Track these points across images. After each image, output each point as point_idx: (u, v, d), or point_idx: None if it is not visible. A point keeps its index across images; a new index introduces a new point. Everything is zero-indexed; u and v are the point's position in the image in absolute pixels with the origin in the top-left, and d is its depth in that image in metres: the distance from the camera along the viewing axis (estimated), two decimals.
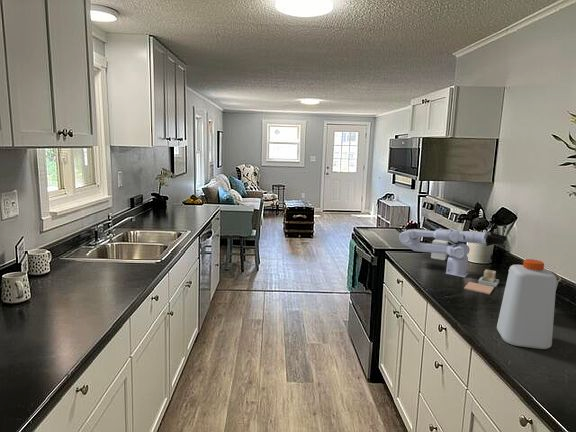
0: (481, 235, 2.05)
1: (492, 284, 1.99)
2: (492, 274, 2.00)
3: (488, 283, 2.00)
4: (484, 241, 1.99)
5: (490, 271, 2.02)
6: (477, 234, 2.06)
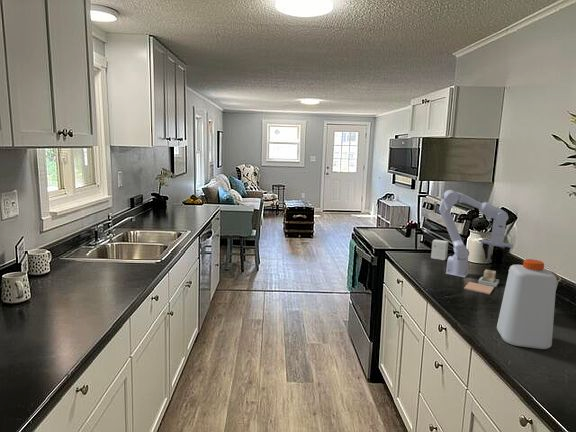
0: None
1: (492, 284, 1.99)
2: (492, 274, 2.00)
3: (488, 283, 2.00)
4: (512, 247, 2.04)
5: (490, 271, 2.02)
6: None
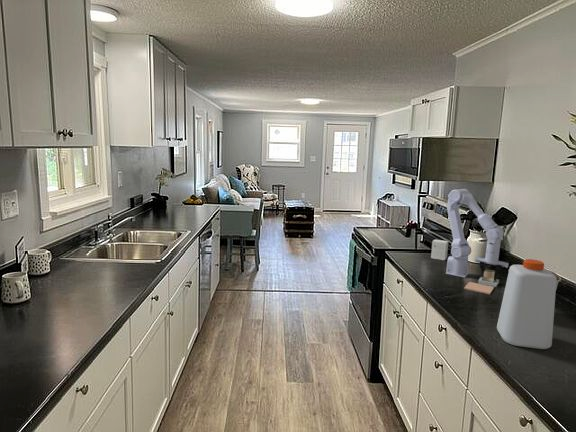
0: None
1: (492, 284, 1.99)
2: (492, 274, 2.00)
3: (488, 283, 2.00)
4: (507, 266, 1.98)
5: (490, 271, 2.02)
6: None
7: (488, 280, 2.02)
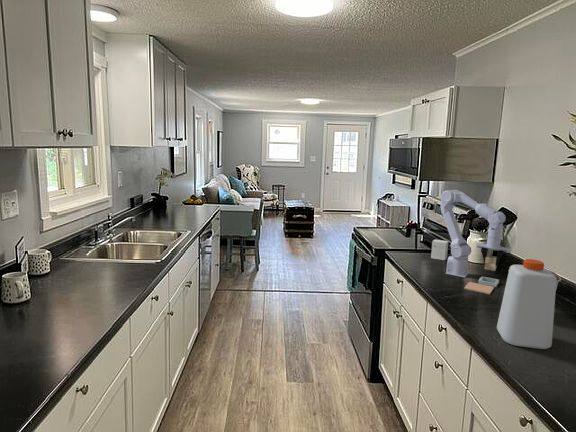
0: None
1: (492, 284, 1.99)
2: (494, 259, 1.99)
3: (488, 283, 2.00)
4: (509, 251, 1.96)
5: (492, 257, 2.01)
6: None
7: (490, 266, 2.00)
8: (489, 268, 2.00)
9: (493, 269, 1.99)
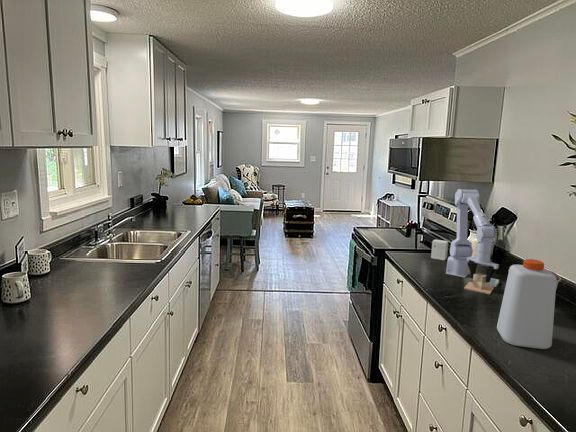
0: None
1: (492, 284, 1.99)
2: (480, 278, 1.92)
3: (488, 283, 2.00)
4: (496, 268, 1.87)
5: (481, 275, 1.94)
6: None
7: (477, 284, 1.94)
8: (476, 286, 1.94)
9: (480, 287, 1.92)
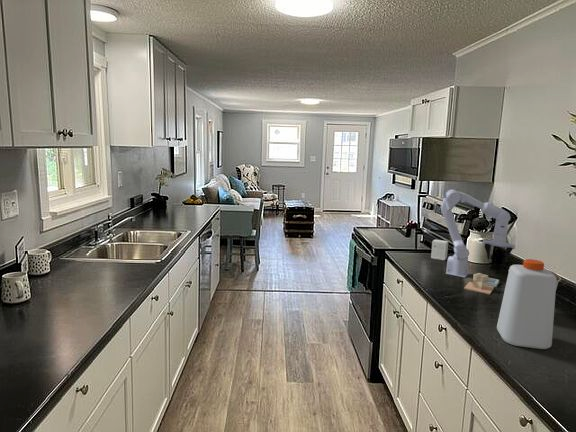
0: None
1: (492, 284, 1.99)
2: (480, 278, 1.92)
3: (488, 283, 2.00)
4: None
5: (481, 275, 1.94)
6: None
7: (477, 284, 1.94)
8: (476, 286, 1.94)
9: (480, 287, 1.92)
